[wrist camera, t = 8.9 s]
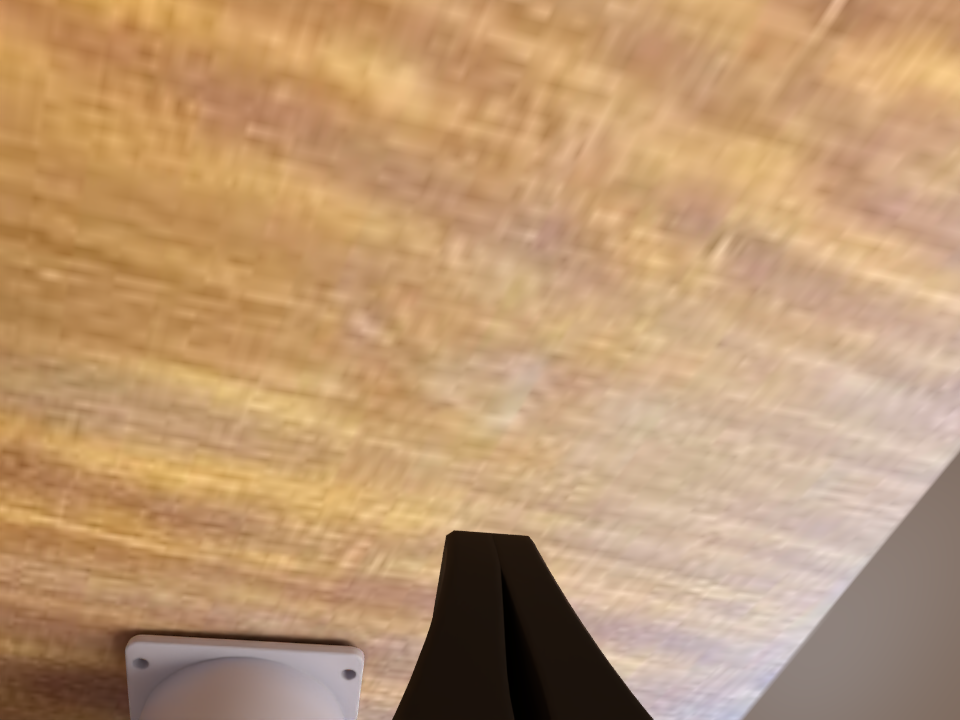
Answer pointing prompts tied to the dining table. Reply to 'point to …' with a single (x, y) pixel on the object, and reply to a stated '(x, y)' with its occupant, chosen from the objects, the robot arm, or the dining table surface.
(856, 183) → the dining table surface
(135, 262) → the dining table surface
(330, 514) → the dining table surface
